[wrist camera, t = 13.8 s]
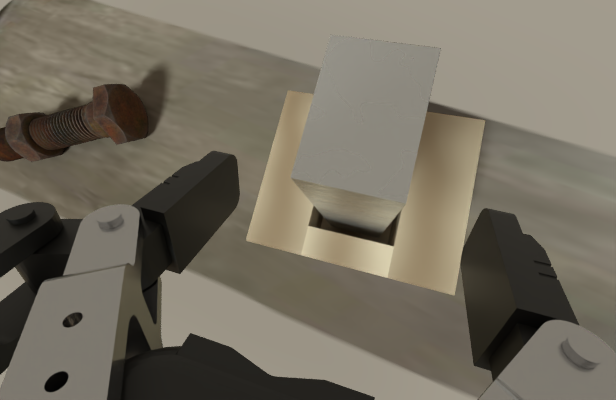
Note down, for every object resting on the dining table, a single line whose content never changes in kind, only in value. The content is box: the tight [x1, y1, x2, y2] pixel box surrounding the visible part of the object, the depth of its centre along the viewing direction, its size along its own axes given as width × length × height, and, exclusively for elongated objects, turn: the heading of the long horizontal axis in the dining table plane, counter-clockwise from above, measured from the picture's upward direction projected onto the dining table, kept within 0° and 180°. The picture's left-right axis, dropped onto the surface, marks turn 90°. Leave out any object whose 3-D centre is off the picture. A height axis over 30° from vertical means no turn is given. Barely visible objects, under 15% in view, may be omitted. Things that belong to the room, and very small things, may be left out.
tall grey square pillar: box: [290, 35, 441, 238], centre depth 16 cm, size 4×5×14 cm
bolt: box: [0, 84, 148, 162], centre depth 30 cm, size 6×5×15 cm
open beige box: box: [246, 91, 485, 295], centre depth 22 cm, size 12×10×8 cm
